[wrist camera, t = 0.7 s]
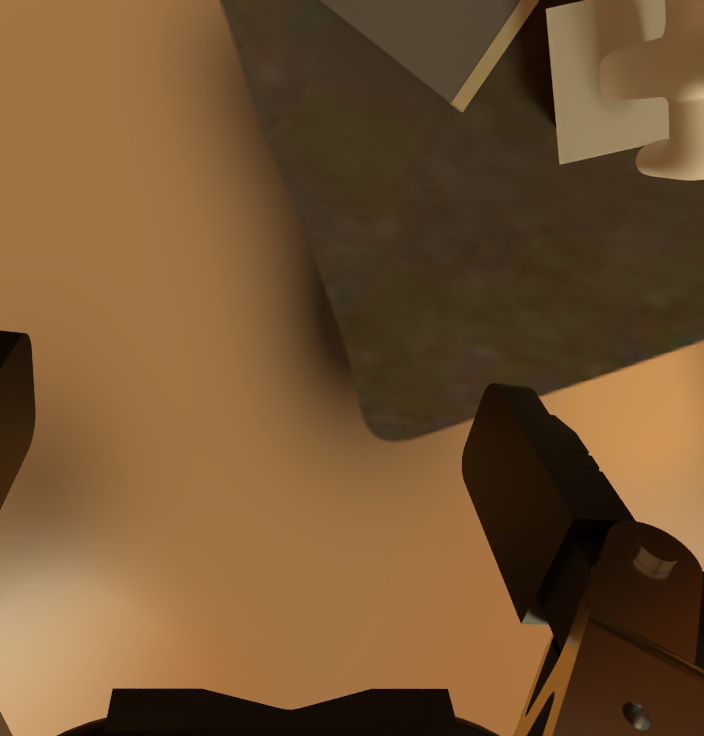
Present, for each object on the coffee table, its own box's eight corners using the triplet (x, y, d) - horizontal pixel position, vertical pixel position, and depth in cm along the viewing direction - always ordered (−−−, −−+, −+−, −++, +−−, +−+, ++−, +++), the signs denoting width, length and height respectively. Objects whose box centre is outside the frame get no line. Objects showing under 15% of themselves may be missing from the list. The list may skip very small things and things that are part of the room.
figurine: (537, 181, 37) (683, 211, 23) (518, -3, 34) (676, -96, 20) (659, 153, 37) (879, 167, 23) (652, -33, 34) (905, -147, 20)
